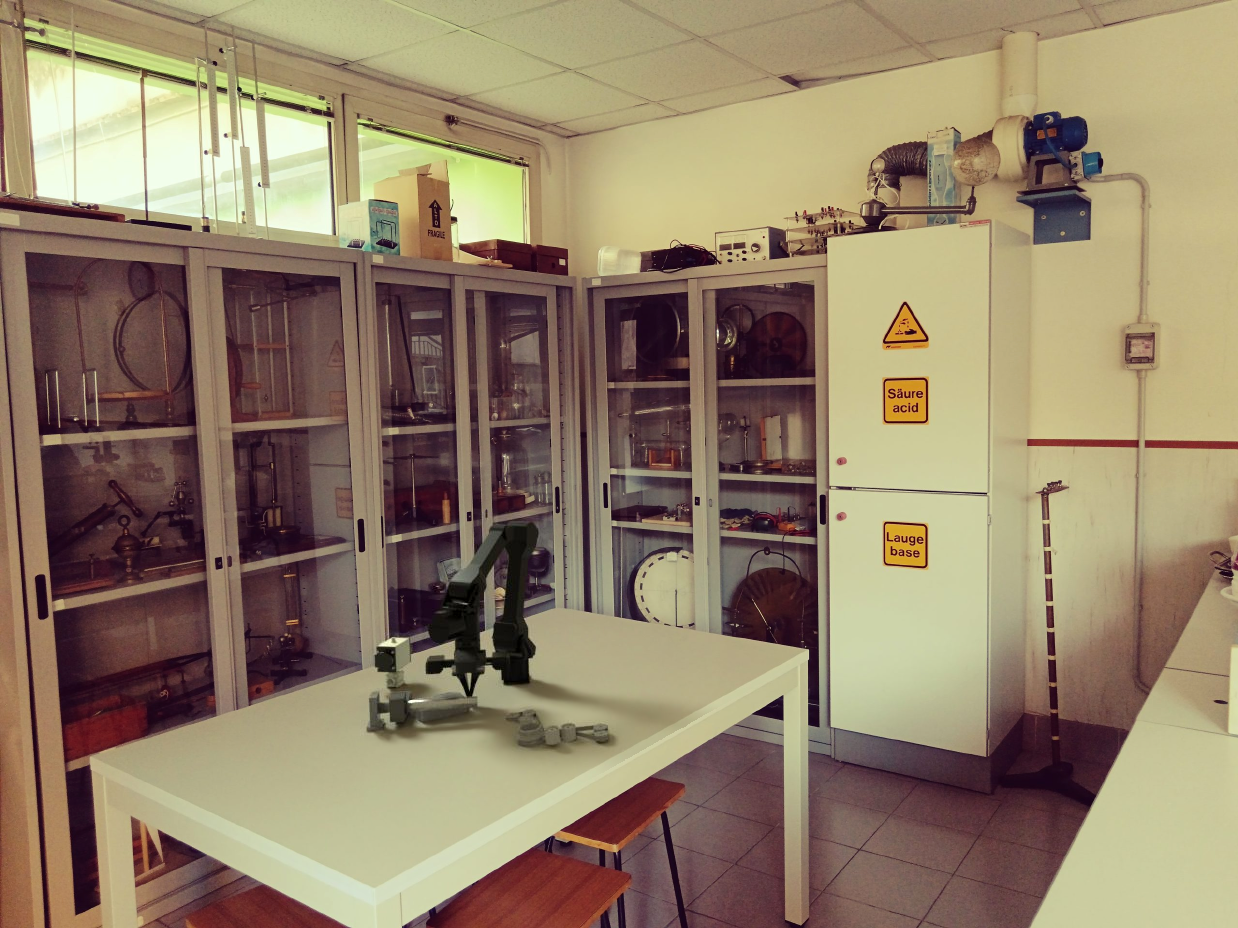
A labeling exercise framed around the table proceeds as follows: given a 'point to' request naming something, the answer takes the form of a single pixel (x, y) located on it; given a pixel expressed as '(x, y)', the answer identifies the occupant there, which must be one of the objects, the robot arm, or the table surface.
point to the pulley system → (551, 730)
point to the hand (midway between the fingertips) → (469, 699)
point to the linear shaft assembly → (415, 707)
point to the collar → (398, 705)
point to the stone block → (438, 714)
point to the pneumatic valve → (393, 659)
